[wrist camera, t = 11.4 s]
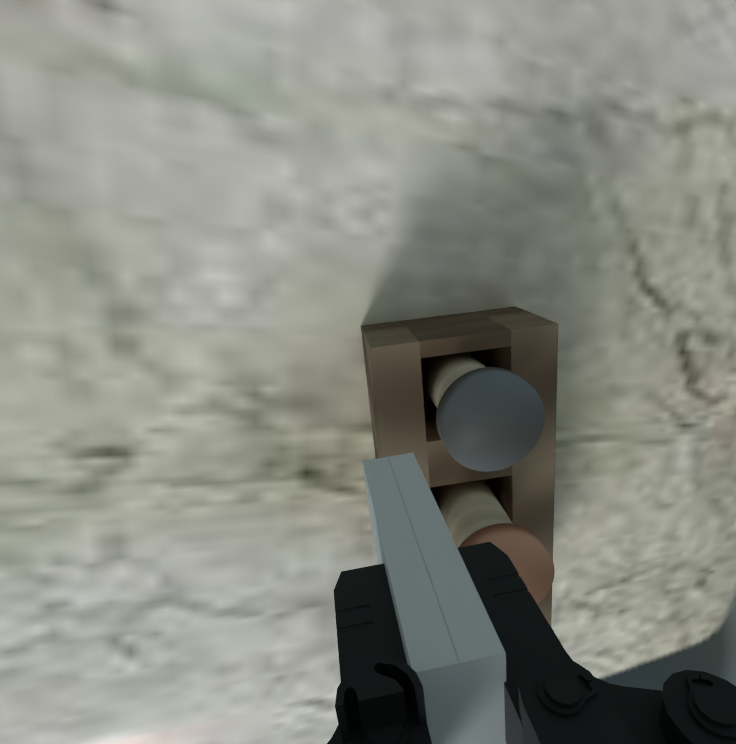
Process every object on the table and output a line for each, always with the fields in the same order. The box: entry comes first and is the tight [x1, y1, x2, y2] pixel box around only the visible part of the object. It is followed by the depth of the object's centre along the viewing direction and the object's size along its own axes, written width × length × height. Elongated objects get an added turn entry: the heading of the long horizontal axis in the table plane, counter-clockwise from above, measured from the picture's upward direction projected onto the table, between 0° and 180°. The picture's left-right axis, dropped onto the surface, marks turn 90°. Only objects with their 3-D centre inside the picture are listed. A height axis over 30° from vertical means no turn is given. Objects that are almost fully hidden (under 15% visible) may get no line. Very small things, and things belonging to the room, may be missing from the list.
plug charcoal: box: [421, 352, 545, 472], centre depth 23 cm, size 4×4×8 cm
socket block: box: [361, 307, 558, 626], centre depth 27 cm, size 20×9×5 cm, turn 6°
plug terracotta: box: [430, 479, 554, 604], centre depth 24 cm, size 4×4×8 cm
